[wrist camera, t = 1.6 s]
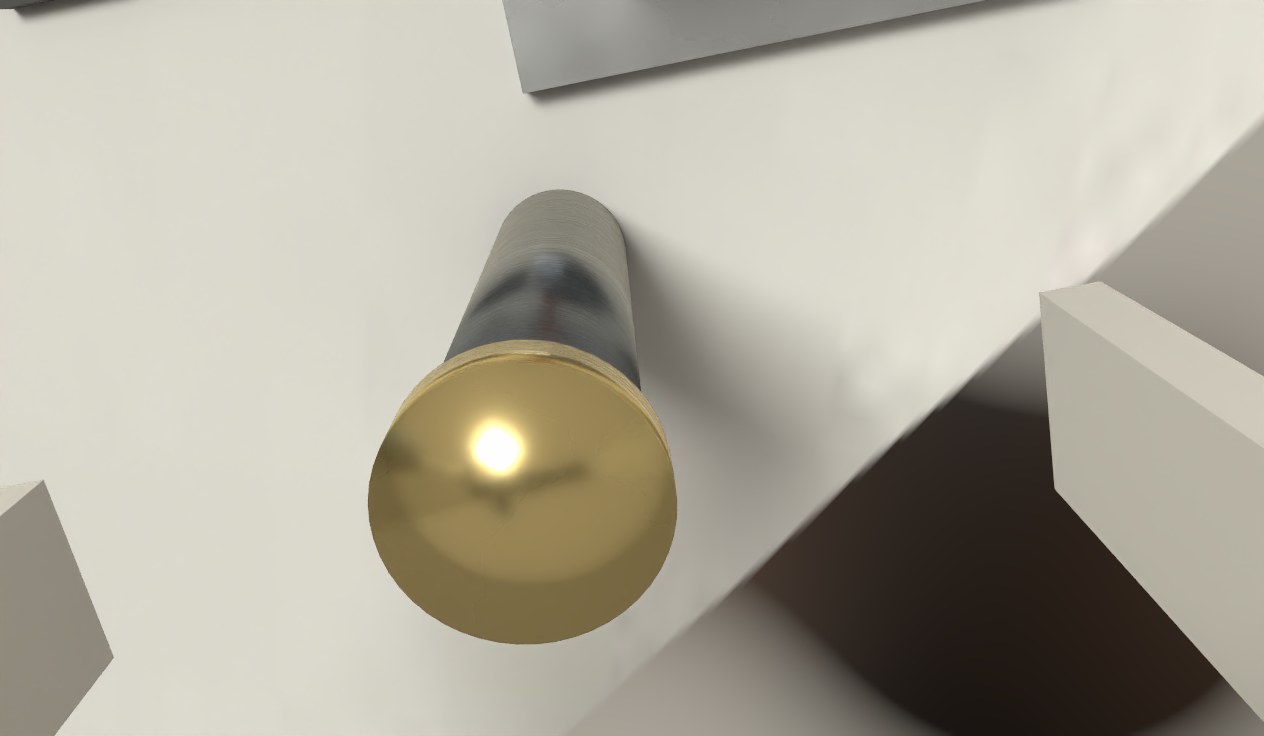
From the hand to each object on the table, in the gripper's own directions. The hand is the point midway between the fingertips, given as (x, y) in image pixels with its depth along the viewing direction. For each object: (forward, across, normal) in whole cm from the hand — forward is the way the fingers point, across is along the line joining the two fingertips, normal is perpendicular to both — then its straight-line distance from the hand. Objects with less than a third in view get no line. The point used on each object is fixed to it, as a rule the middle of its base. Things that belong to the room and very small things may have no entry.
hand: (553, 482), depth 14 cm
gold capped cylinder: (+14, 0, 0) cm, 14 cm away
